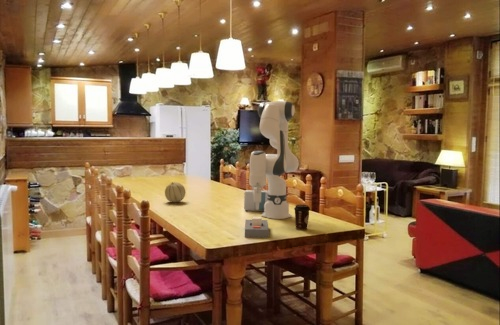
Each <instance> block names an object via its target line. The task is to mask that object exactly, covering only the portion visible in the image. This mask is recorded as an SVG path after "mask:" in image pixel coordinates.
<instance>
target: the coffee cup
mask: <svg viewBox="0 0 500 325" xmlns="http://www.w3.org/2000/svg"><path fill="white" fill-rule="evenodd" d="M293 210H294V220H295V229H296V230H298V231H306V230H307V229H308V224H309V218H310V217H309V216H310V210H311V208H310V206H309V205H307V204H296V205H295V207H294V209H293Z"/></svg>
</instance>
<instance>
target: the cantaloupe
mask: <svg viewBox="0 0 500 325" xmlns="http://www.w3.org/2000/svg"><path fill="white" fill-rule="evenodd" d="M164 196H165V198H166V200H167V201H168V202H170V203H180V202H182V201H183V200H184V198H185V197H186V188H185V186H184V185H183V184H182V183H180V182H175V181H174V182H171V183H169V184H167V186H166V187H165V189H164Z"/></svg>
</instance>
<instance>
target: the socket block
mask: <svg viewBox="0 0 500 325" xmlns="http://www.w3.org/2000/svg"><path fill="white" fill-rule="evenodd" d="M244 223H245V225H244V238H266V239H267V238H269V236H270V235H269V234H270V230H269V223H268V219H262V223H261V226H252V219H245V221H244Z"/></svg>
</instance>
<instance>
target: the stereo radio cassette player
mask: <svg viewBox="0 0 500 325" xmlns="http://www.w3.org/2000/svg"><path fill="white" fill-rule="evenodd" d="M265 186H268V183H266V185H265ZM267 196H268V190H263V189H261V202H259V210H256V209H255V202H254V194H253V189H246V190H244V197H243V198H244V200H243V202H244V203H243V206H244V207H243V208H244V210H245V211H246V212H247V211H253V212H255V211H258V212H264V209H265V208H264V205H265V203H266V202H267V201H268V200H267Z"/></svg>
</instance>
